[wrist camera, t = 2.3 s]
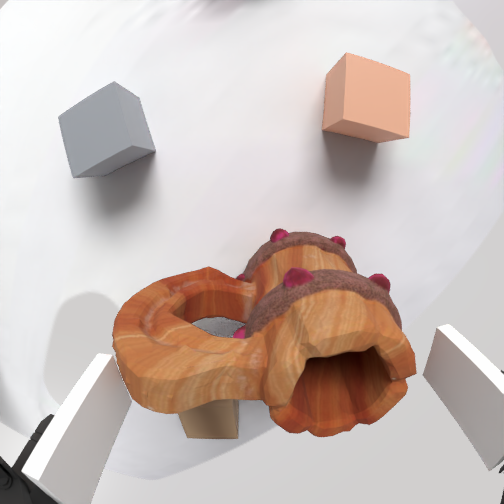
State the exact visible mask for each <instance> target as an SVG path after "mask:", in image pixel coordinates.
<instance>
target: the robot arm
mask: <svg viewBox="0 0 504 504" xmlns="http://www.w3.org/2000/svg"><path fill="white" fill-rule="evenodd" d="M423 376H424V378H425V379H426V380H427V382H428V383H429V384H430V385H431V387H432V388H433V389H434V391H435V392H436V394H437V395H438V396H439V398H440V399H441V400H442V402H443V403H444V404H445V406H446V407H447V409H448V410H449V411H450V413H451V414H452V416H453V417H454V419H455V420H456V421H457V423H458V424H459V426H460V427H461V428H462V430H463V431H464V433H465V434H466V436H467V437H468V439H469V440H470V442H471V443H472V445H473V446H474V448H475V449H476V451H477V452H478V454H479V456H480V457H481V459H482V460H483V462H484V464H485V465H486V467H487V468H488V470H489V471H490V470H492V469H493V468H495V467H496V466H497V465H499V464H500V463H501V462H502V461H503V460H504V372H503V371H502V370H501V371H499V369H497V368H496V367H495V366H494V365H493V364H492V363H491V362H490V361H489V360H488V359H487V358H486V357H485V356H484V355H483V354H482V353H481V352H480V351H479V350H477V349H476V348H475V347H474V346H473V345H472V344H471V343H470V342H469V341H468V340H467V339H465V338H464V337H463V336H462V335H461V334H460V333H459V332H458V331H456V330H455V329H454V328H453V327H452V326H450V325H449V324H447V325H444V326H440V327H437V329H436V333H435V336H434V340H433V344H432V347H431V351H430V354H429V357H428V360H427V364H426V367H425V370H424V373H423ZM131 403H132V401H131V398H130V396H129V394H128V392H127V389H126V387H125V385H124V382H123V380H122V377H121V375H120V372H119V370H118V367H117V365H116V362H115V360H114V357H113V355H108V354H97V356H96V357H95V358H94V360H93V361H92V362H91V364H90V365H89V367H88V368H87V369H86V371H85V372H84V374H83V375H82V377H81V378H80V379H79V381H78V382H77V384H76V385H75V386H74V388H73V389H72V391H71V392H70V394H69V395H68V397H67V398H66V400H65V401H64V402H63V404H62V406H61V407H60V408H59V410H58V412H57V413H56V415H52V414H50V415H49V416H47V417H46V418H45V419H44V420H42V421H41V422H40V424H39V425H38V427H37V429H36V430H35V433H33V435H32V436H31V440H29V441H28V443H27V444H26V446H25V447H24V449H23V451H22V452H21V454H20V456H19V457H18V459H17V461H16V462H15V464H14V465H13V467H12V468H11V467H10V466H9V465H8V464H7V463H6V462H5V461H4V460H3V459H2V458H1V456H0V504H91V501H92V498H93V496H94V493H95V490H96V487H97V485H98V482H99V480H100V477H101V474H102V472H103V469H104V467H105V464H106V462H107V459H108V457H109V454H110V452H111V449H112V447H113V444H114V442H115V440H116V437H117V435H118V433H119V430H120V428H121V425H122V423H123V421H124V418H125V416H126V414H127V412H128V409H129V407H130V405H131ZM503 470H504V465H503V466H502V467H501V468H500V471H499V473H501V472H502V471H503ZM500 504H504V491H503V495H502V499H501V503H500Z"/></svg>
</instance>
